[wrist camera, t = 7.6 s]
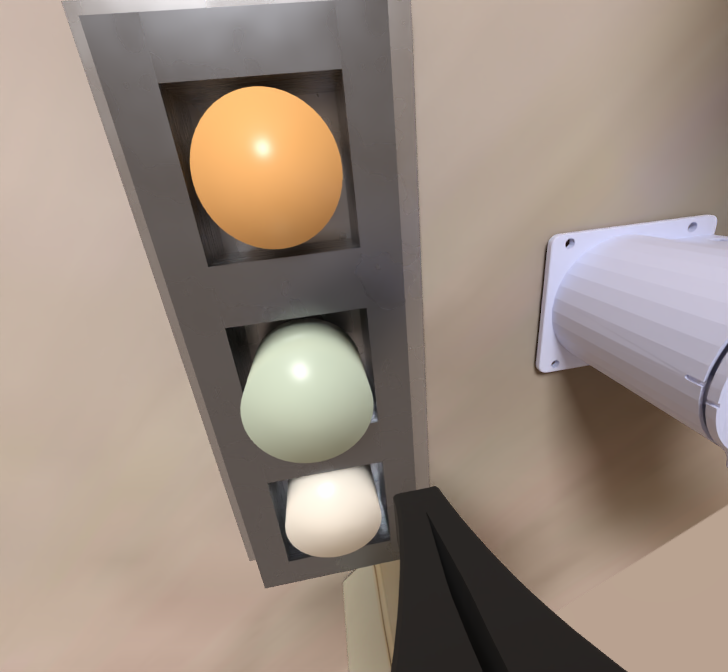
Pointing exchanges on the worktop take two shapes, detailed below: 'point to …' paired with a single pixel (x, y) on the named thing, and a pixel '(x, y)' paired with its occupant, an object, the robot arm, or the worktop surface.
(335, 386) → the sage button
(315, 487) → the ivory button
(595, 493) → the worktop surface
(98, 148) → the worktop surface
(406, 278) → the button panel
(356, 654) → the skincare box
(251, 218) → the orange button
